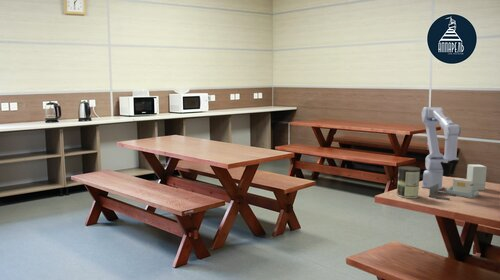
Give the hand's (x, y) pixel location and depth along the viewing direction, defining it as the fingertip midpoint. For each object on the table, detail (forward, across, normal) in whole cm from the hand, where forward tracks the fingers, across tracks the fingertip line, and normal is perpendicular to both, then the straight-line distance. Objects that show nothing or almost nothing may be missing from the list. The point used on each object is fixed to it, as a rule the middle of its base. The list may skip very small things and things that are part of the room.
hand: (448, 175), depth 248 cm
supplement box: (+10, +25, -7) cm, 28 cm away
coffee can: (+10, -17, +14) cm, 24 cm away
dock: (+10, -6, 0) cm, 12 cm away
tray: (+10, +6, -6) cm, 13 cm away
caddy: (+9, +6, -5) cm, 12 cm away
